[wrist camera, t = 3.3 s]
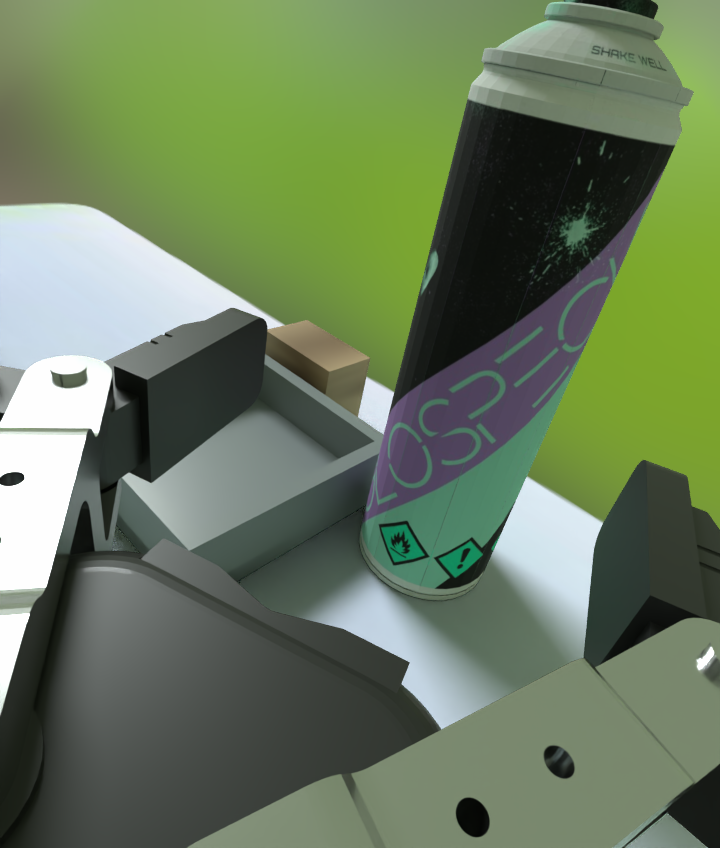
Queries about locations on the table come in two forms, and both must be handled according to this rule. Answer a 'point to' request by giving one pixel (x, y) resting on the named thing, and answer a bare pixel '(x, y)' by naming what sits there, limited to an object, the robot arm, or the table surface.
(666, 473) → the robot arm
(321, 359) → the chock block
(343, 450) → the tray
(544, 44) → the spray can
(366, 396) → the table surface
